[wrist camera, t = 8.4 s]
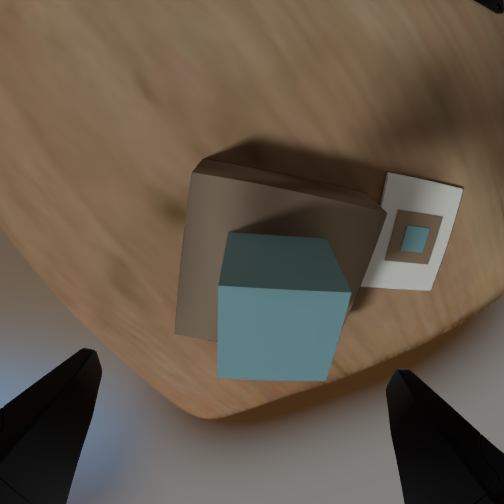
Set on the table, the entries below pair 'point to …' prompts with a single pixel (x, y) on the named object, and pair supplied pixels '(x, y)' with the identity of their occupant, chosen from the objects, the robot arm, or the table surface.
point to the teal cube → (279, 308)
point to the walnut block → (265, 230)
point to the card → (412, 233)
